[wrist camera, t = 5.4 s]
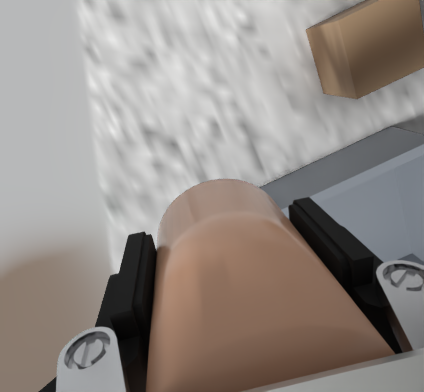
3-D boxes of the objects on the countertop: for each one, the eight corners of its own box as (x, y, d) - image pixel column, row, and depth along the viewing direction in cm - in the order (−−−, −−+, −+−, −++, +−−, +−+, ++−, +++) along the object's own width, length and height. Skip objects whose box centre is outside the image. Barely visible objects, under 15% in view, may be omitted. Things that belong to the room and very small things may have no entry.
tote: (247, 327, 34) (259, 368, 29) (187, 221, 28) (191, 251, 23) (416, 252, 33) (456, 282, 28) (391, 126, 27) (436, 138, 22)
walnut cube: (305, 29, 23) (338, 20, 19) (367, -1, 23) (416, -19, 18) (323, 93, 25) (357, 99, 21) (380, 66, 25) (428, 65, 20)
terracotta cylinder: (142, 194, 11) (104, 369, 5) (278, 166, 11) (422, 294, 5) (173, 302, 13) (176, 531, 7) (288, 276, 13) (400, 472, 7)
